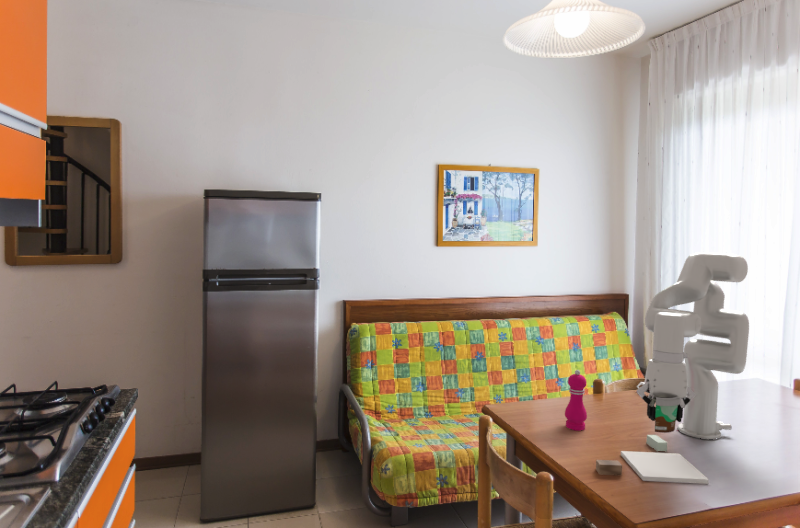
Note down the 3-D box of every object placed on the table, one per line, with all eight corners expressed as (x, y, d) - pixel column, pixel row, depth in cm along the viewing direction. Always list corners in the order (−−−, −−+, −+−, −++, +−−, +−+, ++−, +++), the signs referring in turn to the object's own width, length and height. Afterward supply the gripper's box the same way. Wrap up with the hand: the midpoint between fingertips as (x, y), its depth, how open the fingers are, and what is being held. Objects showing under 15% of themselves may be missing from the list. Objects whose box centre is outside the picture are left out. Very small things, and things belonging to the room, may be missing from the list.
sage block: (646, 444, 160) (646, 434, 159) (655, 443, 160) (655, 434, 160) (657, 452, 154) (658, 442, 153) (666, 452, 154) (667, 442, 154)
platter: (679, 457, 150) (679, 453, 149) (708, 483, 134) (708, 479, 134) (620, 454, 151) (620, 450, 151) (643, 480, 135) (643, 476, 135)
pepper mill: (588, 432, 168) (590, 373, 167) (565, 430, 169) (567, 371, 168) (584, 424, 175) (587, 368, 174) (563, 422, 176) (565, 366, 175)
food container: (680, 438, 135) (682, 401, 134) (654, 433, 137) (656, 397, 137) (678, 423, 146) (680, 389, 145) (655, 419, 148) (656, 385, 148)
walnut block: (617, 471, 140) (618, 460, 140) (621, 476, 137) (622, 465, 137) (595, 470, 141) (596, 459, 141) (599, 475, 138) (599, 464, 138)
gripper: (692, 355, 144) (689, 416, 144) (630, 352, 145) (627, 413, 146) (707, 361, 136) (703, 426, 137) (641, 358, 137) (638, 423, 138)
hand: (664, 419), depth 141 cm, fingers closed on food container, 6 cm apart
